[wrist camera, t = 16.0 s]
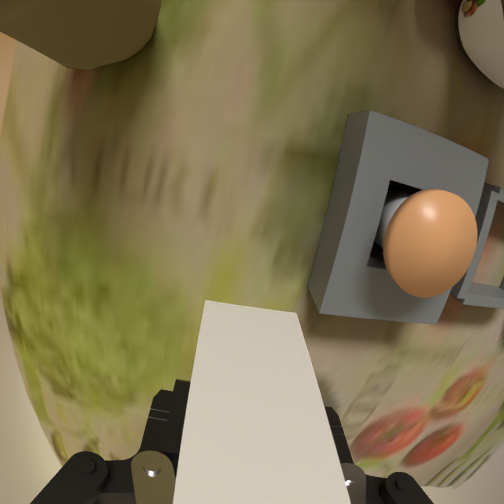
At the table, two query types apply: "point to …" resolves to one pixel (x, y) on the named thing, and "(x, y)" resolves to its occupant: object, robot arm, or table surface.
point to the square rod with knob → (255, 415)
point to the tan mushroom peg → (426, 240)
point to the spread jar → (483, 36)
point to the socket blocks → (369, 213)
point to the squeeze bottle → (81, 28)
